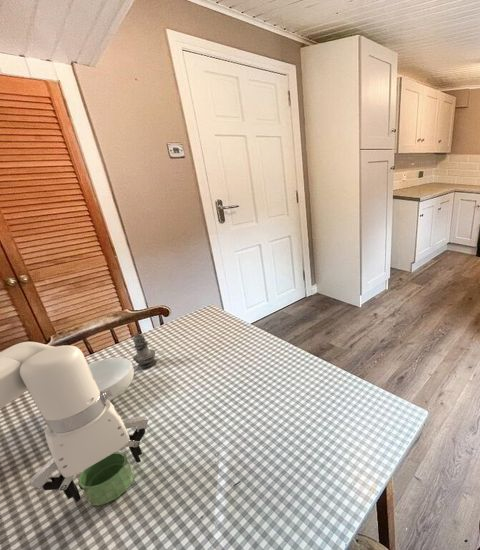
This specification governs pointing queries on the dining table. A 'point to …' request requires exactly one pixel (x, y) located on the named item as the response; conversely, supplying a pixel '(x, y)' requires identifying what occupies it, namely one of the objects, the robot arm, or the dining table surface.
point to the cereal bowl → (112, 375)
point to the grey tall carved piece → (143, 353)
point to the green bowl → (106, 479)
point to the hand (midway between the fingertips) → (108, 476)
